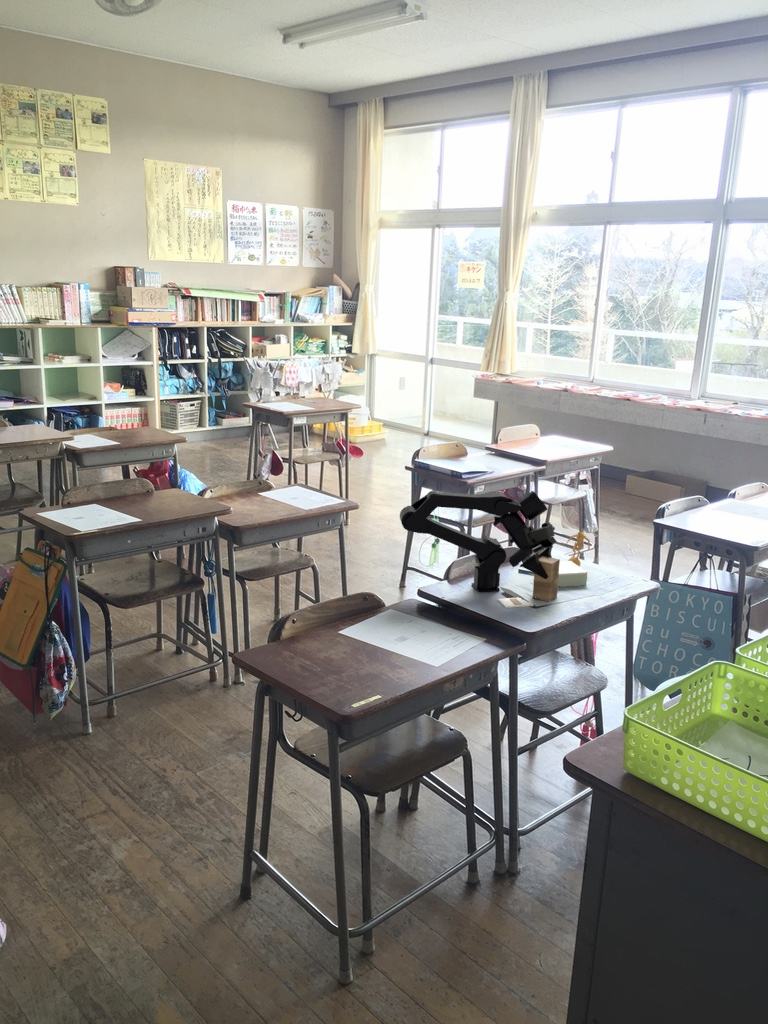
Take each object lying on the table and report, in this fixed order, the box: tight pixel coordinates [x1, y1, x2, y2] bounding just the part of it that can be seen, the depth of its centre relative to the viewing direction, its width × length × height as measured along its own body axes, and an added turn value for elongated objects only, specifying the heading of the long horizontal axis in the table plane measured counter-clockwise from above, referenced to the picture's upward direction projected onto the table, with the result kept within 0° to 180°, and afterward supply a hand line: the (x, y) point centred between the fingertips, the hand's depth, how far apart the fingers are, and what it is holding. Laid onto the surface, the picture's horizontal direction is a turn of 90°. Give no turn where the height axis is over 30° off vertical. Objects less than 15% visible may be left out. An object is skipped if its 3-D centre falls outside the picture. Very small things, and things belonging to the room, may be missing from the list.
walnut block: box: [532, 556, 561, 602], centre depth 227 cm, size 5×5×11 cm
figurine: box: [565, 531, 591, 567], centre depth 252 cm, size 8×6×12 cm
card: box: [497, 597, 534, 609], centre depth 223 cm, size 8×6×1 cm
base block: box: [558, 560, 588, 588], centre depth 243 cm, size 11×11×4 cm
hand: (551, 575), depth 226 cm, fingers closed on walnut block, 5 cm apart
